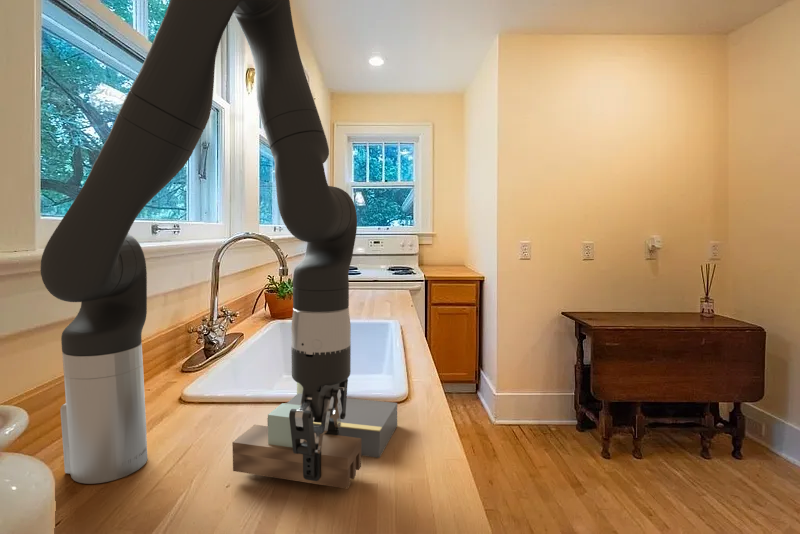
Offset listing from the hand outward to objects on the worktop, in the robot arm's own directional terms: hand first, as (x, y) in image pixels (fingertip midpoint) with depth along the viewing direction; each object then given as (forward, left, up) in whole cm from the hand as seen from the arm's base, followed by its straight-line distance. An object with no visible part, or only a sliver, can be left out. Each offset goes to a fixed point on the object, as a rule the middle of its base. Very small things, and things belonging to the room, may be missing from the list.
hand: (321, 466), depth 63 cm
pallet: (-3, 0, -1) cm, 4 cm away
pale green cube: (-5, 0, +3) cm, 6 cm away
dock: (-3, +14, -2) cm, 14 cm away
